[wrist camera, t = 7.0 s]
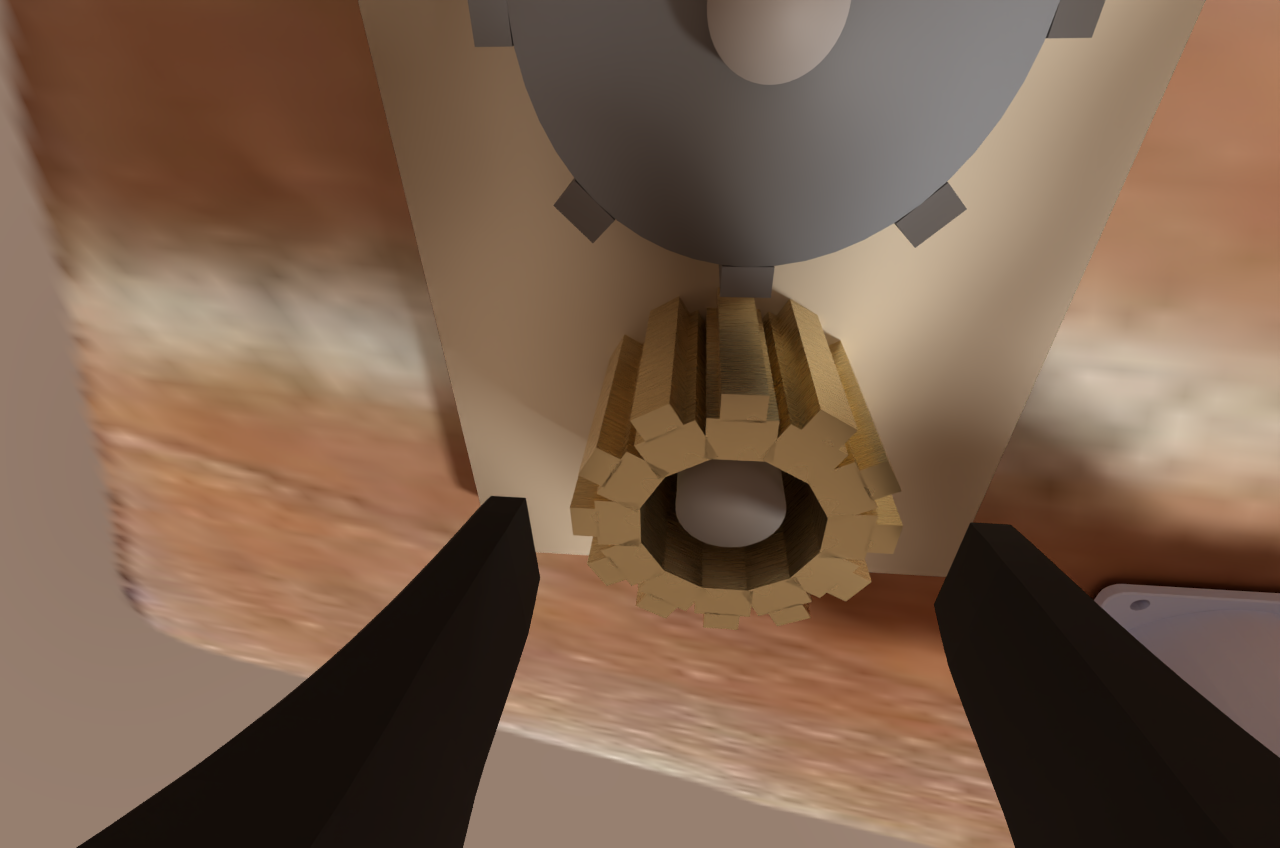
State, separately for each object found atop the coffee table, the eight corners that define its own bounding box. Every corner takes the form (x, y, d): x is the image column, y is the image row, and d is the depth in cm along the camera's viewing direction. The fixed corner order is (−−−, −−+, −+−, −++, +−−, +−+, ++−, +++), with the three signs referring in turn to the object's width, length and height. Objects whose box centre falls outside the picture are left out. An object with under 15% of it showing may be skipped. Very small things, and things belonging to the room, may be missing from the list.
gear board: (1301, -398, 7) (2020, -883, 3) (931, 537, 17) (999, 698, 13) (328, -326, 8) (-17, -625, 4) (505, 513, 18) (449, 656, 14)
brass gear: (879, 290, 12) (946, 402, 8) (829, 501, 15) (863, 638, 12) (596, 284, 12) (555, 387, 9) (608, 489, 15) (583, 618, 12)
